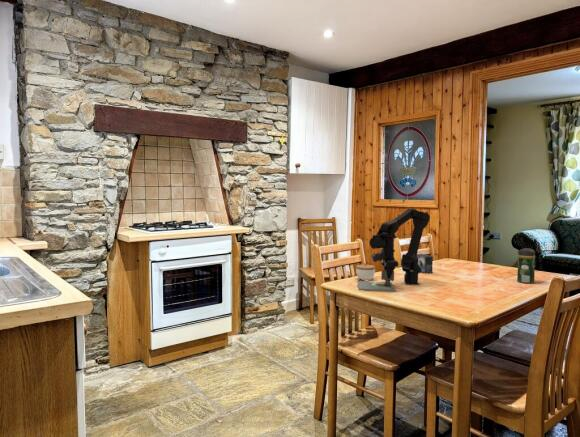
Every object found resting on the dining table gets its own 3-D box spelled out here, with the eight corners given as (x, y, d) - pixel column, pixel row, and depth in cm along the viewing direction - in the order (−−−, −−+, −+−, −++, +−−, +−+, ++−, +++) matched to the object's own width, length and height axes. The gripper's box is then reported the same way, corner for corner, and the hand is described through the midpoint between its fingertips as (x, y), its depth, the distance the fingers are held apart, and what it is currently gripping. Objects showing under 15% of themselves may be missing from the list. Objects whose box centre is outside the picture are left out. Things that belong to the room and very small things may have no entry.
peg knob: (394, 284, 214) (394, 270, 214) (392, 286, 211) (392, 271, 210) (370, 281, 221) (370, 268, 221) (367, 283, 218) (367, 269, 217)
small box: (412, 271, 260) (412, 254, 260) (420, 270, 263) (421, 253, 262) (424, 273, 251) (425, 256, 250) (432, 273, 254) (433, 256, 253)
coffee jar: (519, 279, 234) (520, 246, 233) (535, 281, 229) (536, 248, 228) (515, 282, 227) (516, 248, 226) (531, 284, 222) (532, 249, 220)
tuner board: (391, 283, 223) (391, 281, 223) (396, 291, 205) (396, 289, 205) (357, 282, 225) (357, 280, 225) (359, 290, 207) (359, 288, 207)
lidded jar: (353, 280, 231) (353, 263, 230) (359, 277, 240) (359, 261, 240) (371, 282, 226) (372, 265, 225) (377, 279, 235) (377, 262, 235)
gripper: (368, 245, 222) (368, 274, 223) (376, 249, 204) (375, 281, 205) (389, 245, 222) (389, 274, 223) (398, 249, 204) (398, 281, 205)
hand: (387, 277), depth 214 cm, fingers closed on peg knob, 4 cm apart
